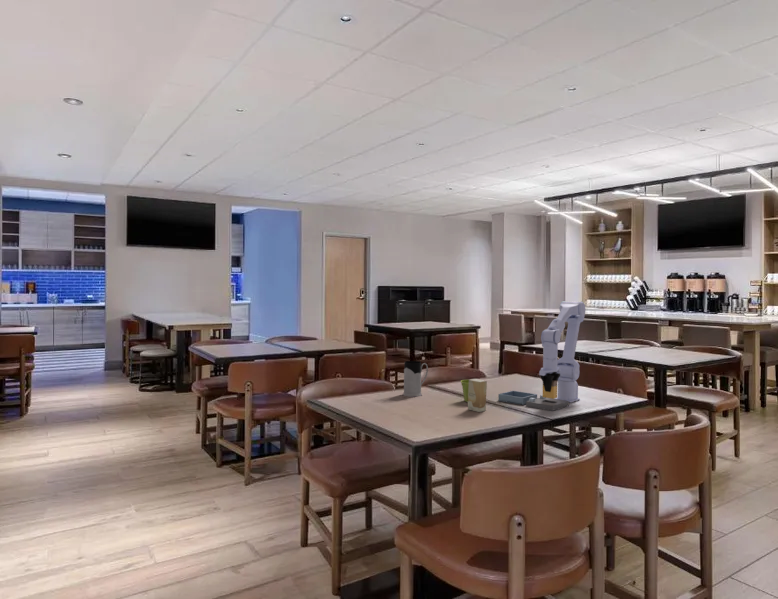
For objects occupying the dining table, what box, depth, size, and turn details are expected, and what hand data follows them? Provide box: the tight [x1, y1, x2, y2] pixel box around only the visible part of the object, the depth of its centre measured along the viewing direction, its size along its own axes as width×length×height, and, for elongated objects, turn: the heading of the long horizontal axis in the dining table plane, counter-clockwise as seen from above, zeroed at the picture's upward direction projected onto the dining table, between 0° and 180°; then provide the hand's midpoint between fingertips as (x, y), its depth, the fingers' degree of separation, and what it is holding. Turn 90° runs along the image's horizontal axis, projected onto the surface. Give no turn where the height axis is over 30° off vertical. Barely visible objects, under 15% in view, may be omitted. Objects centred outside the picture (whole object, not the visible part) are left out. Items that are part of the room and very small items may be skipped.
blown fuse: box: [542, 380, 558, 399], centre depth 228 cm, size 3×5×7 cm, turn 46°
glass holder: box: [402, 360, 429, 398], centre depth 252 cm, size 9×14×15 cm, turn 132°
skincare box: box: [467, 378, 488, 413], centre depth 219 cm, size 6×4×12 cm
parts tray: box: [497, 390, 538, 406], centre depth 238 cm, size 12×12×3 cm
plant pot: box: [460, 379, 470, 403], centre depth 237 cm, size 9×9×9 cm
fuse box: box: [525, 394, 570, 412], centre depth 228 cm, size 14×12×3 cm
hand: (549, 390), depth 228 cm, fingers closed on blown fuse, 3 cm apart
